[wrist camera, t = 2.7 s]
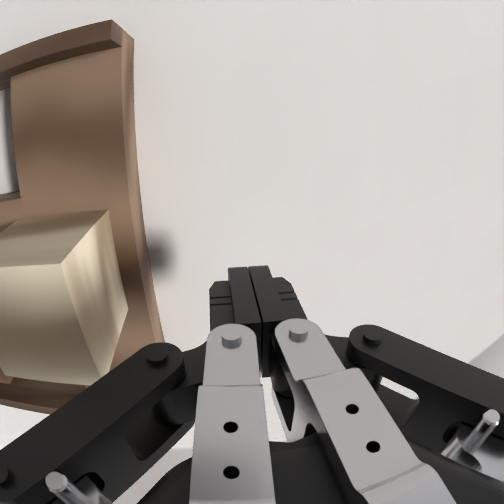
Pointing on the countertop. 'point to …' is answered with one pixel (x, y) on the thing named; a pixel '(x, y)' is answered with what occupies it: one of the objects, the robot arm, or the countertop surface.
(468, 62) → the countertop surface
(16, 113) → the box
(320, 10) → the countertop surface
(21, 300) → the birch block
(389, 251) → the countertop surface
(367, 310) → the countertop surface
